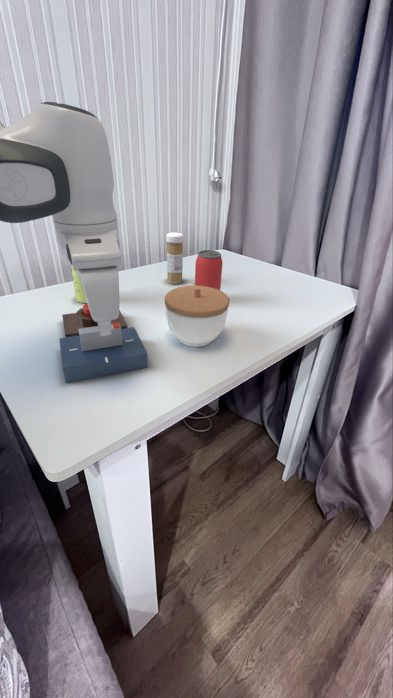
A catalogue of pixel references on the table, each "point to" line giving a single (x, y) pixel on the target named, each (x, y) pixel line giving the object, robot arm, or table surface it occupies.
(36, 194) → the robot arm
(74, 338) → the panel
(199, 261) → the beer can
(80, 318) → the button block
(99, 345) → the grey rectangular block
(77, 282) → the tube
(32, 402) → the table surface
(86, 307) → the button
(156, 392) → the table surface
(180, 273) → the sprinkles bottle
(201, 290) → the lidded bowl
